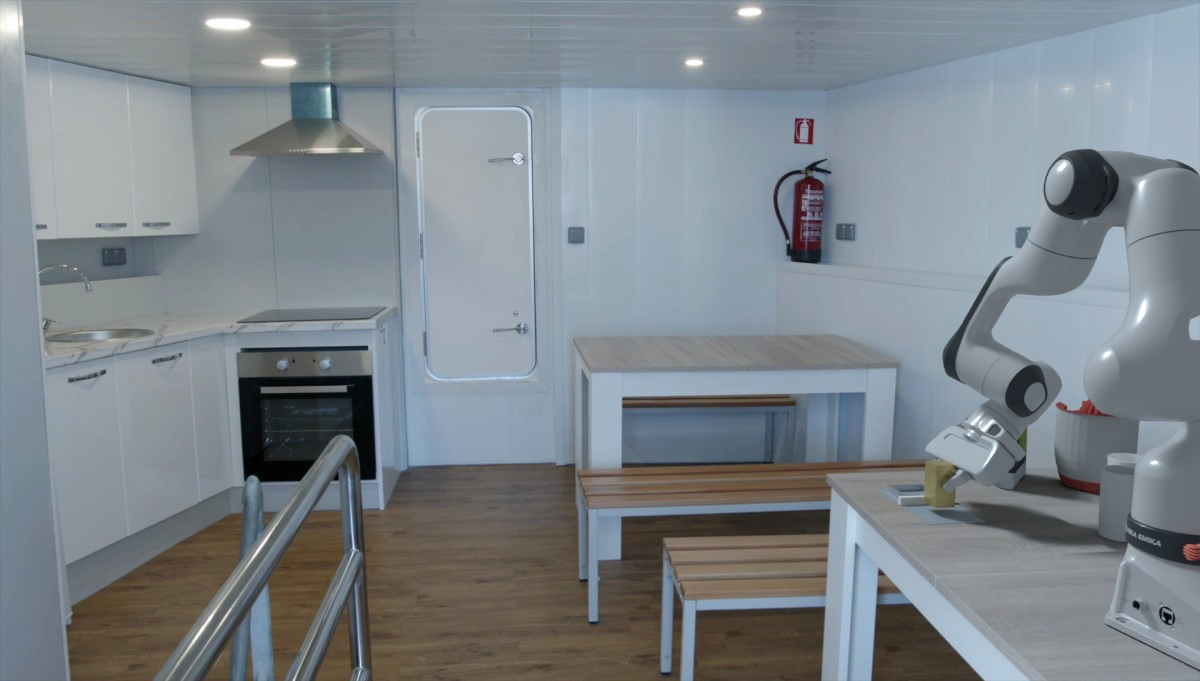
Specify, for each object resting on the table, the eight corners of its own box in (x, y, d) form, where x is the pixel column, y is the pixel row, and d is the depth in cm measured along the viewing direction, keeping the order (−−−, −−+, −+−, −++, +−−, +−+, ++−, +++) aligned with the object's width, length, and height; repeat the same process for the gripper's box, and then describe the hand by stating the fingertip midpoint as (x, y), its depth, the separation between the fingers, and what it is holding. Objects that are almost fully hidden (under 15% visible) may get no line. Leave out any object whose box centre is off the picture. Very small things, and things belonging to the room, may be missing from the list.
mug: (1141, 545, 148) (1146, 477, 147) (1096, 538, 151) (1101, 472, 150) (1139, 528, 157) (1145, 463, 155) (1096, 522, 160) (1101, 458, 159)
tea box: (978, 467, 197) (981, 403, 195) (1026, 475, 191) (1030, 409, 190) (961, 483, 185) (965, 415, 183) (1012, 491, 179) (1017, 421, 177)
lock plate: (986, 527, 157) (986, 513, 157) (928, 529, 156) (929, 516, 156) (925, 491, 179) (926, 479, 179) (875, 493, 178) (875, 481, 177)
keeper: (941, 500, 169) (942, 494, 169) (904, 502, 168) (904, 496, 168) (922, 489, 177) (922, 483, 177) (886, 490, 176) (886, 485, 176)
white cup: (1094, 502, 172) (1098, 453, 171) (1131, 501, 173) (1135, 452, 171) (1122, 515, 164) (1126, 463, 163) (1161, 513, 165) (1165, 462, 164)
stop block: (954, 507, 161) (956, 465, 160) (934, 508, 160) (936, 465, 160) (943, 500, 165) (945, 459, 164) (923, 501, 164) (925, 460, 164)
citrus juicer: (1087, 471, 194) (1094, 383, 191) (1154, 494, 177) (1162, 398, 174) (1027, 476, 190) (1033, 386, 187) (1090, 500, 173) (1097, 401, 171)
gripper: (948, 411, 172) (900, 460, 172) (1009, 433, 152) (954, 489, 152) (968, 432, 173) (920, 482, 173) (1031, 457, 153) (977, 513, 153)
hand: (936, 485), depth 162 cm, fingers closed on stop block, 4 cm apart
